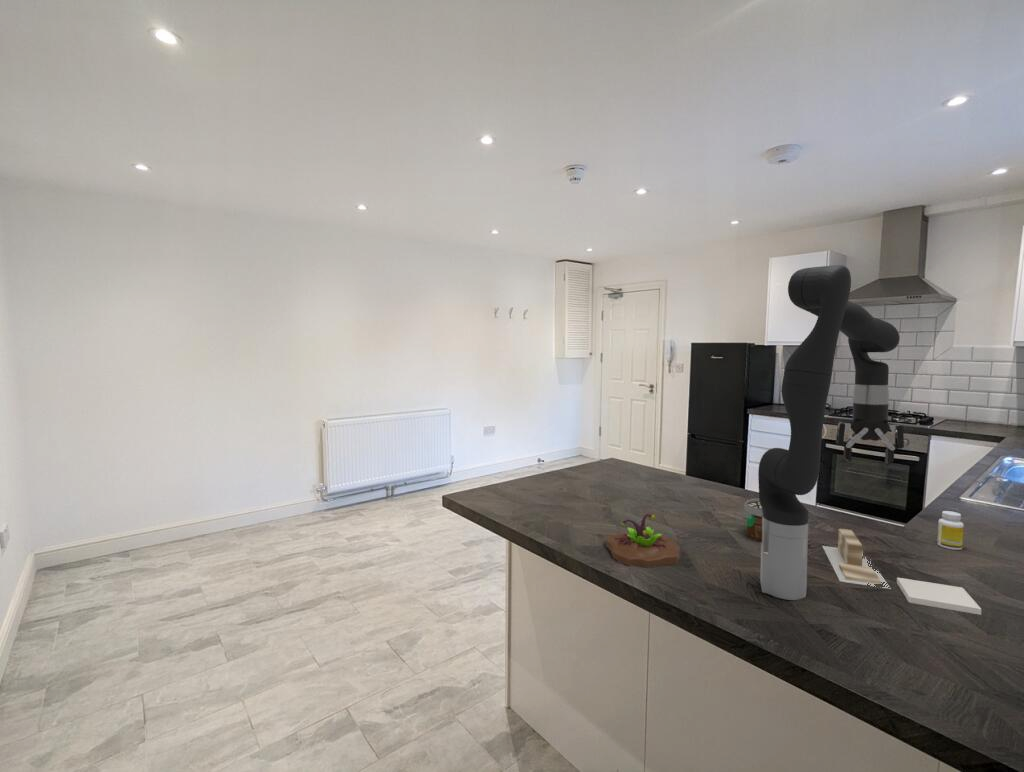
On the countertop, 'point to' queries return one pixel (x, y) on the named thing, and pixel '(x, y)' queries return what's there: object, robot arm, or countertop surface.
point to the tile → (938, 595)
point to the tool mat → (836, 558)
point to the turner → (854, 559)
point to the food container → (754, 519)
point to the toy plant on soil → (643, 546)
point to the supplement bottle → (950, 531)
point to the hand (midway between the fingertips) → (868, 462)
